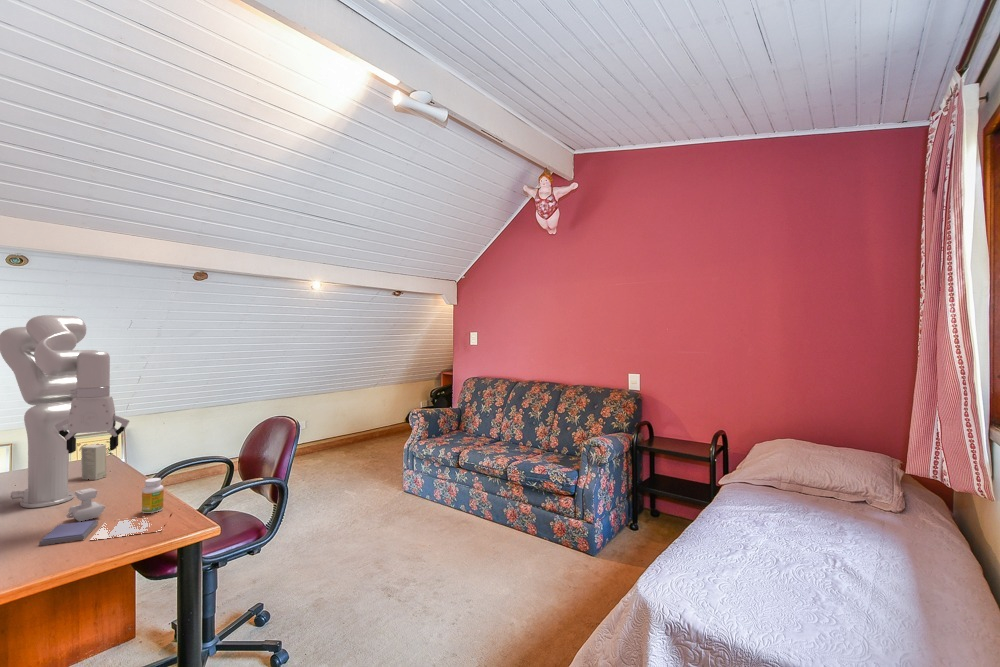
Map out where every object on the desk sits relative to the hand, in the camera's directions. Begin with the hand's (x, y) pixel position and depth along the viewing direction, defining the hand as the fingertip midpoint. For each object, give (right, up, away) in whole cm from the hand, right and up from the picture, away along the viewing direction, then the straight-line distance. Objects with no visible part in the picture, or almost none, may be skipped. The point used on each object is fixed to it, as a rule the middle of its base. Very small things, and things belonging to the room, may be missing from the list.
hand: (92, 450), depth 141 cm
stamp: (-2, -20, -1) cm, 20 cm away
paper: (+16, -20, -6) cm, 27 cm away
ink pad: (+4, -20, -11) cm, 23 cm away
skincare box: (-31, -19, +37) cm, 52 cm away
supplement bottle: (+13, -20, +6) cm, 25 cm away
